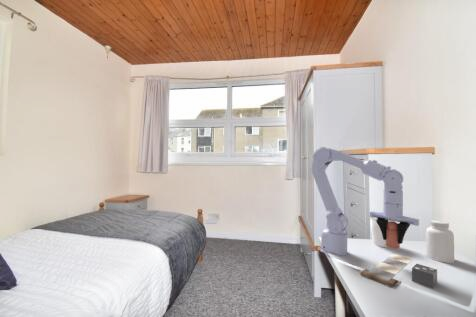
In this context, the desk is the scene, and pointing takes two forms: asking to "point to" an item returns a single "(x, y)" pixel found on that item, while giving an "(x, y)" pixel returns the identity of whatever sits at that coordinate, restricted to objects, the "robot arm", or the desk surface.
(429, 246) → the pill bottle
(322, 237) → the robot arm
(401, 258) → the board
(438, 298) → the desk surface
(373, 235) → the cup
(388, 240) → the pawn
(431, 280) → the dark grey block
